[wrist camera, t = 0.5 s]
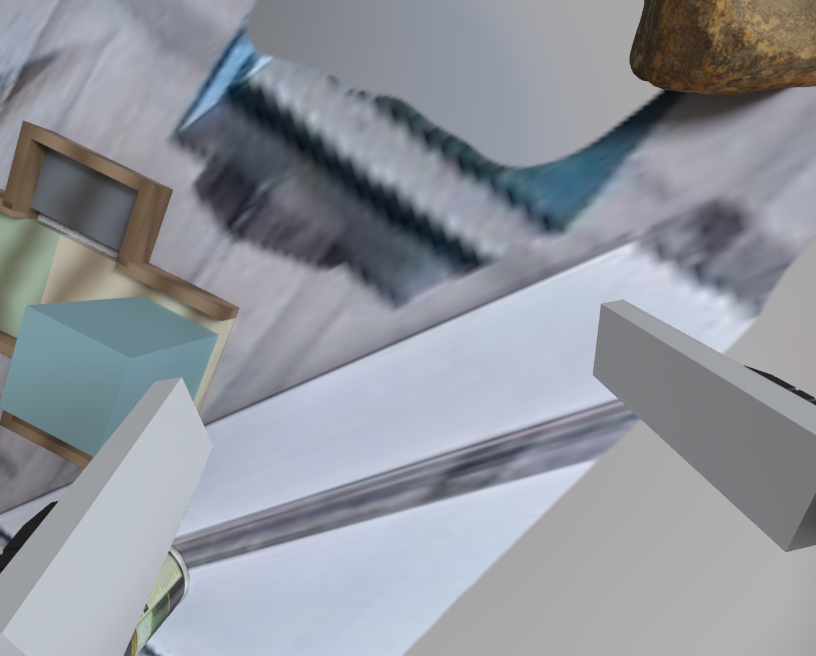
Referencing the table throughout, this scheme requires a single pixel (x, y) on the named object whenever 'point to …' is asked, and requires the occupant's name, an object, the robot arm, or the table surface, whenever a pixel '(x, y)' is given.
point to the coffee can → (161, 600)
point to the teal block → (98, 364)
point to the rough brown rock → (726, 45)
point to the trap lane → (86, 250)
